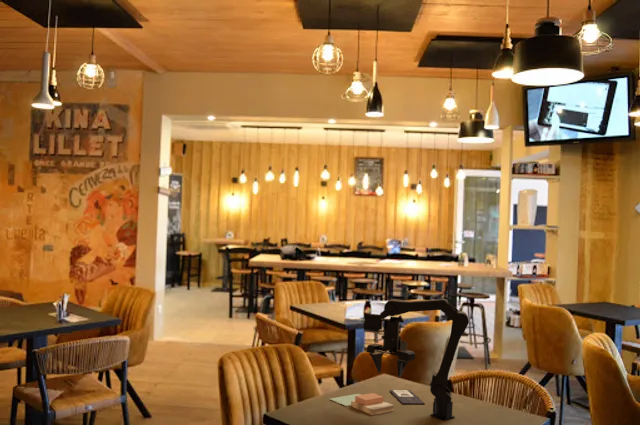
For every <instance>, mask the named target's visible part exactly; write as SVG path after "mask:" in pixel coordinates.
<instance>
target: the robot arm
mask: <svg viewBox="0 0 640 425" xmlns="http://www.w3.org/2000/svg"><path fill="white" fill-rule="evenodd" d="M428 311H431V312H432V311H441V312H442V313H443V314H445V316H446V317H447V318H449V319H450V321H451V328H450V334H449V337H448V341H447V345H446V346H445V350H444V353H443V356H442V359H441V362H440V366H439V368H438V370H437V372H435V371H432V376H431V379H430V380H429V384H428V385H429V386H428V387H429V388H430V393H431V395H432V396H434V398H433V403H432V413H430V416H431V417H433V418H436V419H439V420H441V421H446V420H451V419H455V417H456V416H455V415H453V404H454V403H453V400H452V399H453V398H452V397H453V396H452V394H453V392H452V391H451V390H450V388H448V380H449V373H450V370H451V367H452V364H453V361H454V358H455V356H456V355H455V354H456V351H457V349H458V346H459V343H460V339H461V338H462V336H463V334H464V333H465V331H466V330H467V327H468V326H469V321H470V320H469V316H468V314H467V312H465V311H462V310H459V309H457V307H456V306H454V305H452V304H451V303H450V302H449V301H448V300H447V299H445V298H439V299H438V298H437V299H425V300H424V299H423V300H405V299H398V298H397V299H396V298H392V299H389V300H388V301H387V302H386V303H385V304H384V306H383V311H381V312H380V313H379V314H378V313H370V312H366V313H365V317H364V320H363V321H364V322H363V331H364V332H373V333H380V330H381V331H382V330H383V335H380V336H381V339H382V340H383V341H382V342H383V343H382V344H379V343H371V344H368V345H367V346H366V353H368V355H369V356H370V357H371V359H372V361H373V363H374V366H375V368H376V371H377V373H379V374H380V373H382V359H383V356H384V354H386V355H391V356H396V357H397V358H398V359H397V360H396V364H397V366H396V367H397V376H398V378H399V379H400V378H402V376H403V373H404V371H405V368H406V366H407V364H408V363H409V362H412V361H413V360H416V352H414V350H408V349H407V348H408V344H409V343H408V342H406V341H405V340H402V336H401V335H400V323H401V324H403V323H405V321H406V320H405V318H403V317H402V315H404V314H406V313H411V312H413V313H414V312H428ZM388 317H389V318H388Z"/></svg>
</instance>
